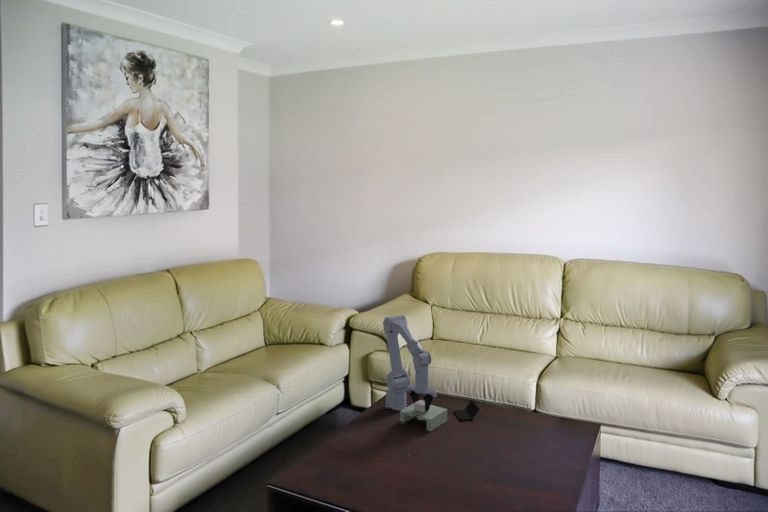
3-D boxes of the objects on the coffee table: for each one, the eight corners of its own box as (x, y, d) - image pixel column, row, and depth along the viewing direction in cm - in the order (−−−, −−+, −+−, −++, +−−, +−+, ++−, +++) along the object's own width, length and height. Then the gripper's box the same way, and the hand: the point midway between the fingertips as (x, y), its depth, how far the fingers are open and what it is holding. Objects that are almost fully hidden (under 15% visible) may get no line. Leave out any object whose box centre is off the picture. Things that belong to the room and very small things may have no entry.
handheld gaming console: (449, 409, 267) (462, 392, 266) (459, 416, 270) (472, 399, 269) (459, 422, 256) (473, 404, 256) (470, 429, 259) (484, 412, 259)
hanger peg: (414, 418, 255) (414, 403, 254) (420, 415, 259) (420, 399, 258) (423, 421, 252) (423, 405, 251) (429, 417, 256) (429, 402, 255)
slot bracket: (400, 422, 256) (400, 410, 255) (417, 412, 267) (417, 401, 266) (430, 431, 246) (430, 419, 246) (447, 420, 258) (447, 409, 257)
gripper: (403, 378, 254) (403, 408, 256) (431, 385, 246) (430, 415, 247) (412, 374, 260) (412, 403, 262) (439, 380, 251) (439, 410, 253)
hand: (421, 409), depth 255 cm, fingers closed on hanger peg, 5 cm apart
